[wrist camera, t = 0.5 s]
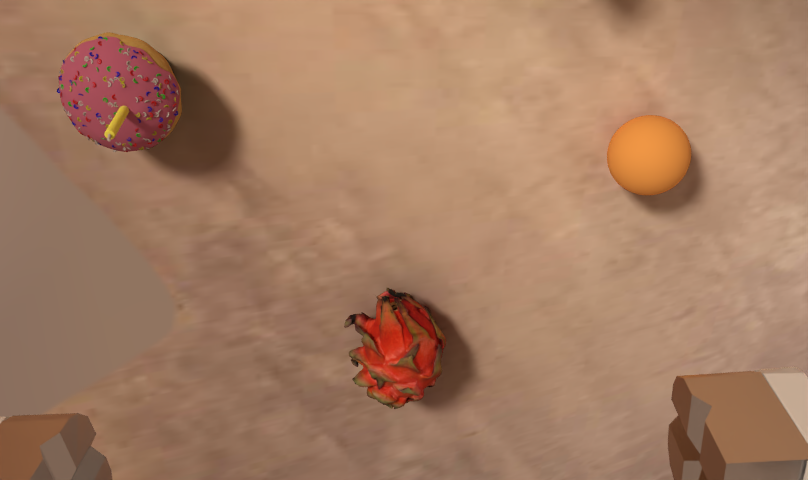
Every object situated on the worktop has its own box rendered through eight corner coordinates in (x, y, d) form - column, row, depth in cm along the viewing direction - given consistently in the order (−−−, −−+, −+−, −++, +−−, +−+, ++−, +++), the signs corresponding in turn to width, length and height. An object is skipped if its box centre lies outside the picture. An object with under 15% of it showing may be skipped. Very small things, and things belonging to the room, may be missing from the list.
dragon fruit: (394, 369, 70) (389, 258, 65) (466, 397, 65) (465, 278, 60) (336, 410, 64) (325, 291, 59) (410, 445, 59) (404, 316, 54)
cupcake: (202, 35, 52) (146, 83, 42) (194, 139, 57) (141, 206, 46) (86, 9, 52) (0, 50, 41) (86, 116, 56) (8, 179, 45)
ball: (600, 108, 54) (619, 136, 49) (679, 100, 54) (706, 128, 49) (598, 178, 57) (615, 212, 52) (673, 172, 57) (698, 205, 52)
